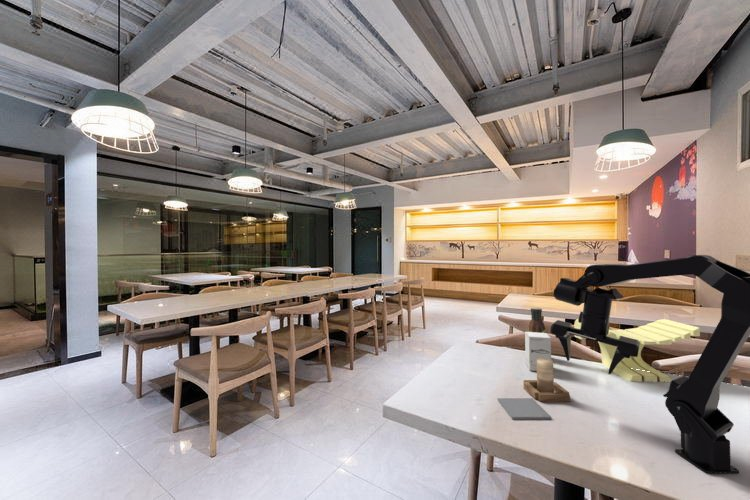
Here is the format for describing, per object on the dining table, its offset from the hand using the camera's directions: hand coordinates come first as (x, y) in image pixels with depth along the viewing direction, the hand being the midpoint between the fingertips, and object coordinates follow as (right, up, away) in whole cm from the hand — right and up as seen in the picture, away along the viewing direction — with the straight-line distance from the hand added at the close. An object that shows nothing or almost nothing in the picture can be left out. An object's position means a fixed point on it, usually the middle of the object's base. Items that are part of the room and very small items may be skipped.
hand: (588, 366), depth 81 cm
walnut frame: (-6, -12, +10) cm, 17 cm away
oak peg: (-6, -12, +10) cm, 17 cm away
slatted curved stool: (+34, -12, +25) cm, 44 cm away
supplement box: (+3, -13, +30) cm, 33 cm away
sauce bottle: (+9, -13, +42) cm, 45 cm away
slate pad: (-17, -12, +2) cm, 21 cm away
